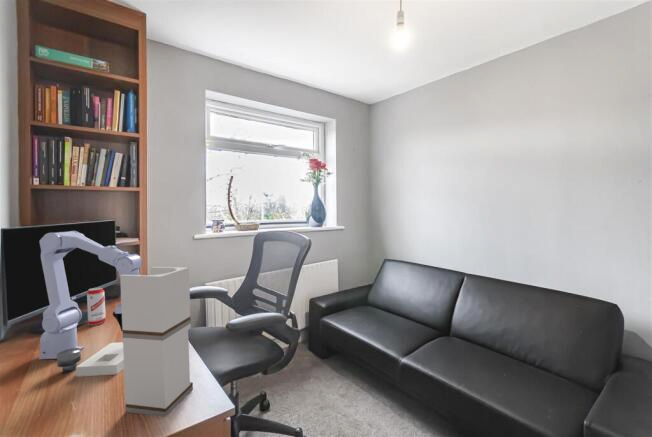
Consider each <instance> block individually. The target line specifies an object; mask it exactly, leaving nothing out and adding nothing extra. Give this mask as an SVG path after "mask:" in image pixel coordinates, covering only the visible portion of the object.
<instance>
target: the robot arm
mask: <svg viewBox="0 0 652 437" xmlns="http://www.w3.org/2000/svg"><path fill="white" fill-rule="evenodd" d="M38 241H39V247H40V261H41V265H42V271H43V275H44V277H43V278H44V281H45V286H46V292H47V298H48V303H49V305H48V307H47V308H46V309H45V310H44V311H43V312H42V317H43V319H42V323H41V327H42V329H43V330H44V332H43V333H42V334H41V336H40V340H39V348H40V350H39V352H40V357H38V360H52V359H56V360H57V354H58V353H60V352H62V351H64V350H67V349H71V348H80V350H82V349H83V348H84V347H85V345H79V346H78V330H77V329H78V328H77V326H78V325H79V322H80V321H81V320H82V317H83V314H82V310H81V309H80V308H79V305H78V303H77V302H76V301H74V300H72V299H71V296H70V291H69V286H68V280H67V275H66V270H65V264H64V260H63V258H65V257H66V256H67V254H69V253H70V252H72V251H73V250H75V249H77V248H78V249H81V250H82V251H86V252H89V253H90V254H94V255H96V256H97V258H98V259H99V261H101V262H104V263H106V264H108V265H110V266H113V267H115V269H116V271H117V272H118V277H120V275H141V274H140V272H141V271H140V269H141V268H142V267H143V265H144V260H143V258H142V256H140V255H139V254H138V253H132V254H129V253H130V252H129V251H123V250H120V249H119V248H117V246H116V245H107V246H103V245H102V244H101V243H98V242H96V241H94V240H92V239H91V238H88V237H86V236H85V234H84V233H81V232H79V231H76V230H70V231H59V232H47V233H45V234H44V235H43V236H42V237H41V238H40V240H38ZM119 283H120V284H121V281H120V282H119ZM112 316H113V317H114V318H115V319H116V321H117V323H118V325H119V328H120V331H121V332H123V329H122V305H121V302H119V304H118V305H117V306H116V307H114V311H113V312H112Z"/></svg>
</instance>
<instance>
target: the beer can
mask: <svg viewBox="0 0 652 437" xmlns="http://www.w3.org/2000/svg"><path fill="white" fill-rule="evenodd" d="M105 295H106V294H105V290H104V289H103V286H100V287H93V288H89V289H88V291H87V293H86V301H87V302H86V304H87V306H86V307H87V322H88V323H87V324H88V325H89V326H92V325H93V326H98V324H99V325H101V324H102V325H103V324H104V323H103V322H106V319H107V318H106V316H107V314H106V297H105Z"/></svg>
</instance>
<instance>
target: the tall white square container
mask: <svg viewBox="0 0 652 437" xmlns="http://www.w3.org/2000/svg"><path fill="white" fill-rule="evenodd" d="M119 279H120V281H121V283H120V303H121V305H122V329H123V331H122V342H123V354H124V369H123V375H124V378H123V379H124V397H125V398H124V399H125V412H126V413H135V414H142V415H151V416H155V417H163V418H164V417H167V416H168V415H169V414H170V413H171V412H172V411H173V410H174V409H175V408H176V407H177V406H178V405H179V404H180V403H181V402H182V401H183V400H185V398H186V397H187V396H188V395H189V394H190V393H191V392H192V391H193V390H194V389H193V388H194V386H193V382H191V378H190V377H191V376H190V375H191V373H190V351H189V350H190V346H189V343H190V342H189V340H190V339H189V330H191V329H192V325H191V324H192V323H191V296H190V295H191V294H190V293H191V290H190V288H191V287H190V267H185V266H184V267H182V266H181V267H180V266H179V267H178V266H175V267H174V266H151V267H150V274H147V275H145V274H140V275H120V276H119Z"/></svg>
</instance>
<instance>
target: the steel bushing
mask: <svg viewBox="0 0 652 437" xmlns="http://www.w3.org/2000/svg"><path fill="white" fill-rule="evenodd" d="M81 356H82V355H81V349H80V348H71V349H67V350H64V351H62V352H60V353H58V354H57V358H56V364H57V365H56V366H57V367H58V368H61V370H62V373H61V374H70V373H73V372H74V371H75V372H76V367H77V366H78V365H77V364H78V363H79V362H80V361H81V359H82V358H81Z"/></svg>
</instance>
